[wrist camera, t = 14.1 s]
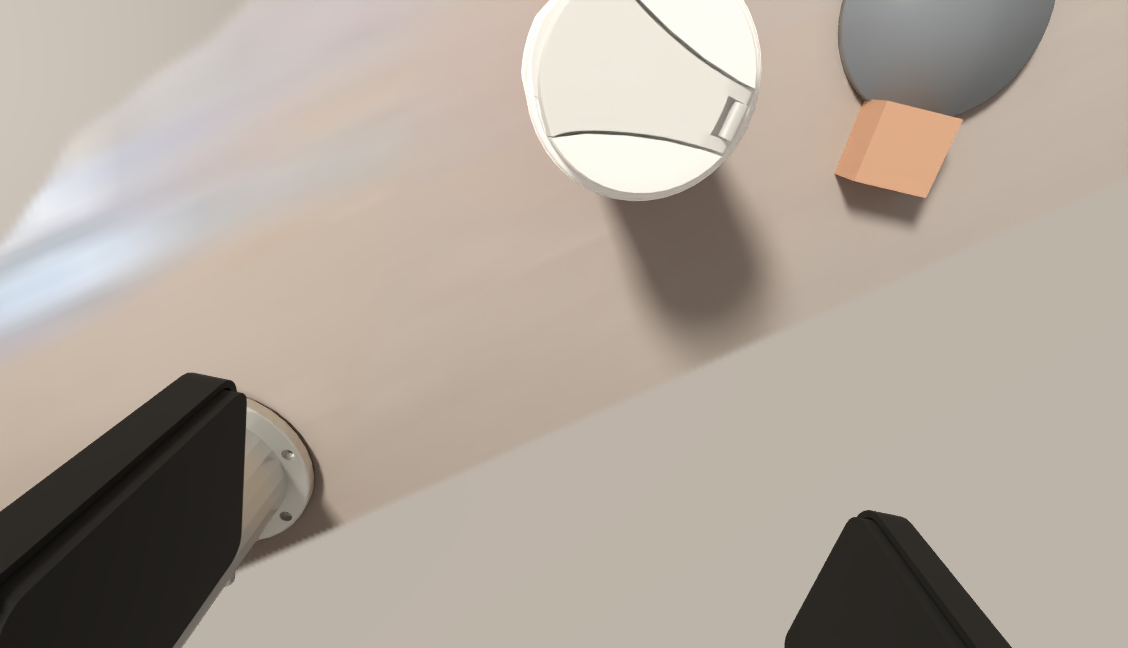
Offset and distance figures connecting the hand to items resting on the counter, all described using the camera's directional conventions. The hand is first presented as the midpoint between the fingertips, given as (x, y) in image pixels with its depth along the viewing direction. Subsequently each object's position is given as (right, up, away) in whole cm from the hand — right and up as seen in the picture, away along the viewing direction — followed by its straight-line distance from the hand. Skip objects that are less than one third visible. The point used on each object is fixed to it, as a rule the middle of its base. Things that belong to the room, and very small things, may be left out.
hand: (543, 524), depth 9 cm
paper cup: (+3, +16, +22) cm, 27 cm away
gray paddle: (+19, +17, +21) cm, 33 cm away
